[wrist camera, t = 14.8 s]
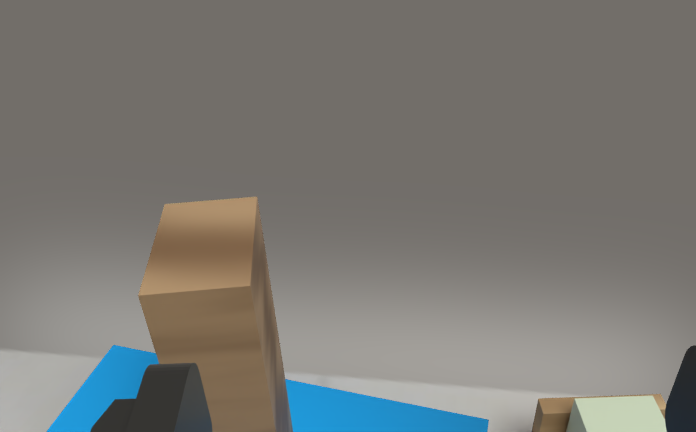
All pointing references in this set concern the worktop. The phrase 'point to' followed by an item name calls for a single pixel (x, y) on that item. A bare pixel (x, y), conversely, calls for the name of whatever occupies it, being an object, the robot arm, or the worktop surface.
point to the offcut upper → (616, 415)
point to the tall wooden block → (218, 311)
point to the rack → (567, 412)
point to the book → (304, 400)
